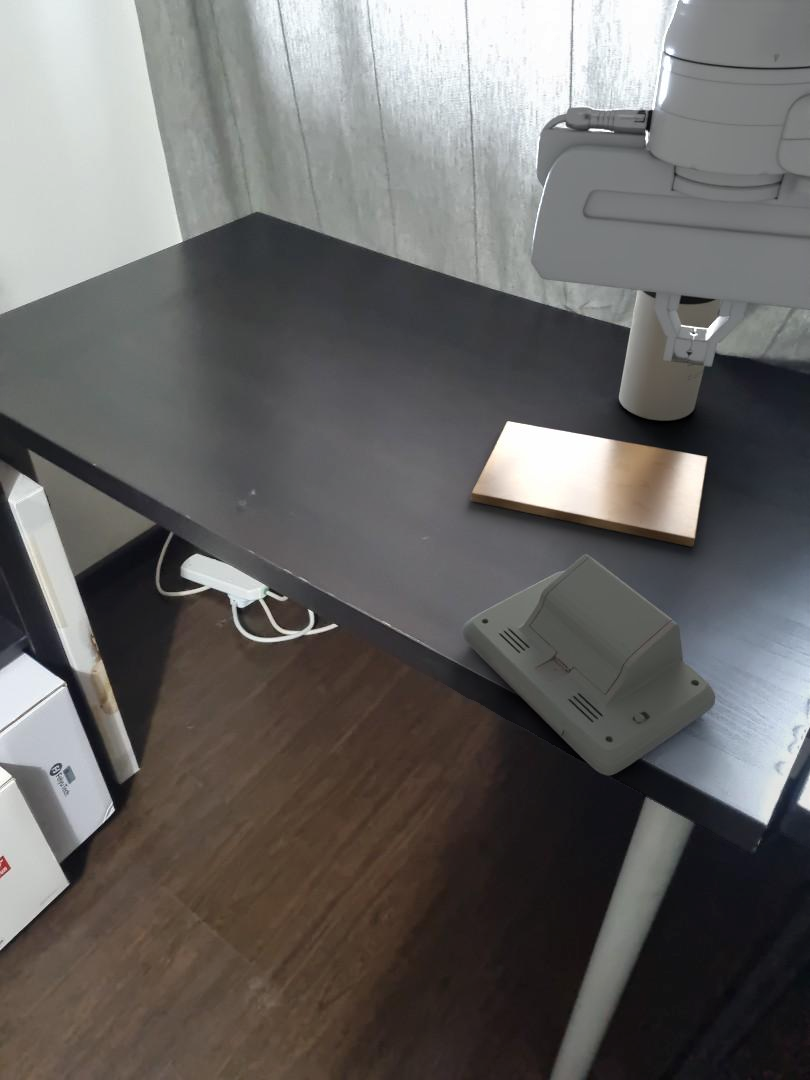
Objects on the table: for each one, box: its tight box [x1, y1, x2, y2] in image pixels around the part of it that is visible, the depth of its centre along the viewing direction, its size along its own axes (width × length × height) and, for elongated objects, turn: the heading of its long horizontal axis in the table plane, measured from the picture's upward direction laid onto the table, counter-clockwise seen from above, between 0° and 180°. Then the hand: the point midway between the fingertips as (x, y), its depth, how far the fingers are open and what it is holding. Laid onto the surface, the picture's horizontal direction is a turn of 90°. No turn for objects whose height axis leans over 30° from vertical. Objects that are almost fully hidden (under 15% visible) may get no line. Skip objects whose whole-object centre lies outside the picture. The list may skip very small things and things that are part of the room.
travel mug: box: [618, 290, 721, 422], centre depth 84 cm, size 8×8×18 cm
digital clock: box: [461, 553, 716, 776], centre depth 59 cm, size 16×9×11 cm
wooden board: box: [470, 420, 708, 548], centre depth 78 cm, size 20×13×1 cm, turn 70°
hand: (687, 359), depth 51 cm, fingers closed
